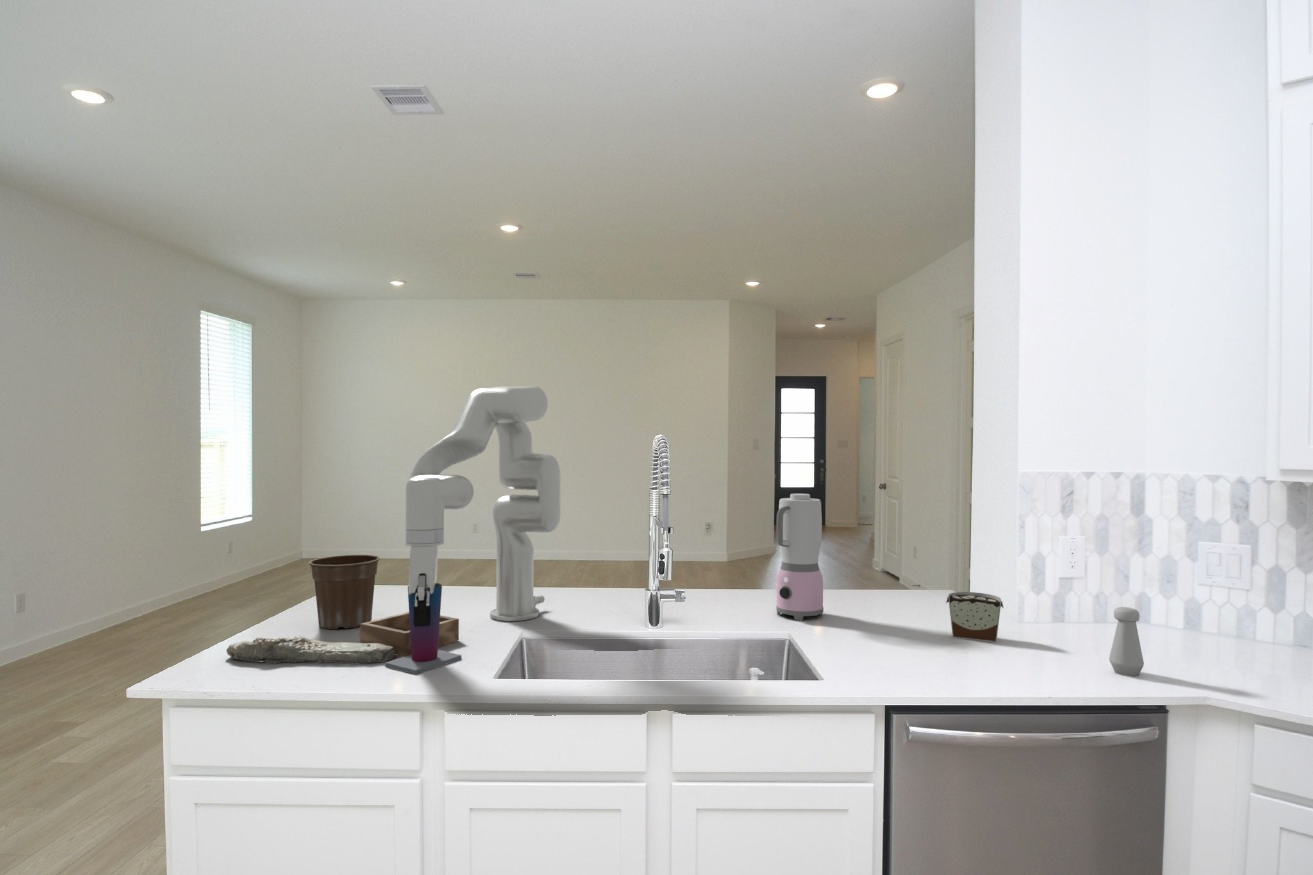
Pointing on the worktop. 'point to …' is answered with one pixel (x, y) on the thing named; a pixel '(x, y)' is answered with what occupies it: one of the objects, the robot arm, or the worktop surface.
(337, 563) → the plant pot
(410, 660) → the slate mat
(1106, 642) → the worktop surface
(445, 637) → the open wooden box
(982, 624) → the food container
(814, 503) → the blender
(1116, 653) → the salt shaker
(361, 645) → the long grey stone
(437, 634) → the cup
